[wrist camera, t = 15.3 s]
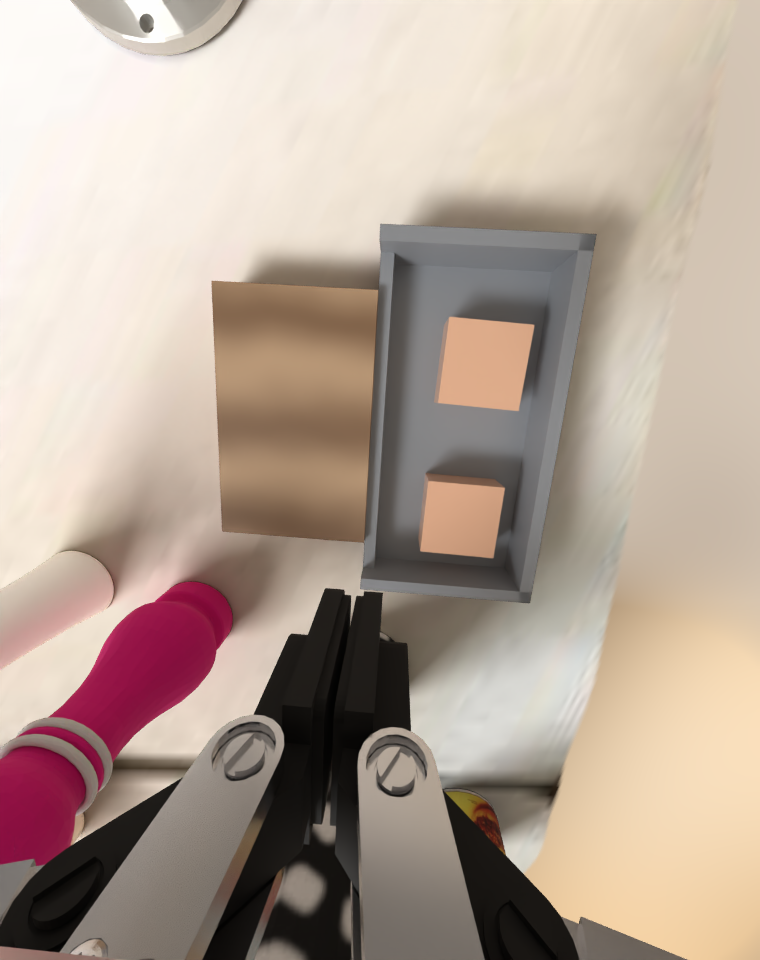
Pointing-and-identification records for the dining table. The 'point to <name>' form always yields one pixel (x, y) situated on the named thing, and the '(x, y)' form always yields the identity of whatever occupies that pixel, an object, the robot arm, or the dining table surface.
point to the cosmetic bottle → (51, 602)
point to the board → (294, 407)
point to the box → (466, 429)
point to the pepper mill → (105, 718)
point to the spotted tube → (312, 901)
